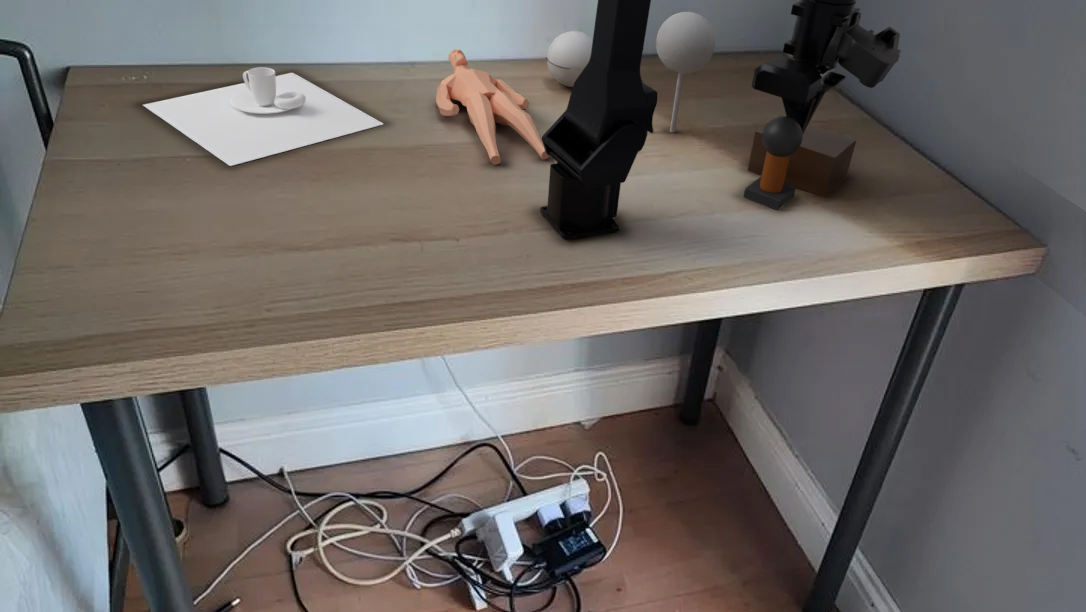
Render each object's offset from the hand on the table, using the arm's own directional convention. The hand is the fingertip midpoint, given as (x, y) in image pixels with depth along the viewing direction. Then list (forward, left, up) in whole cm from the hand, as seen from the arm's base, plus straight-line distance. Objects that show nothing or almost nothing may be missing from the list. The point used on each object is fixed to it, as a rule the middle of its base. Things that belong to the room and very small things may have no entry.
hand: (796, 135), depth 108 cm
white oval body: (-12, +33, -6) cm, 35 cm away
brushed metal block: (+3, +2, -6) cm, 7 cm away
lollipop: (-6, +17, -6) cm, 19 cm away
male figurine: (-28, +26, -6) cm, 38 cm away
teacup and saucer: (-53, +34, -6) cm, 63 cm away
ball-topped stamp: (-2, -1, -6) cm, 6 cm away
